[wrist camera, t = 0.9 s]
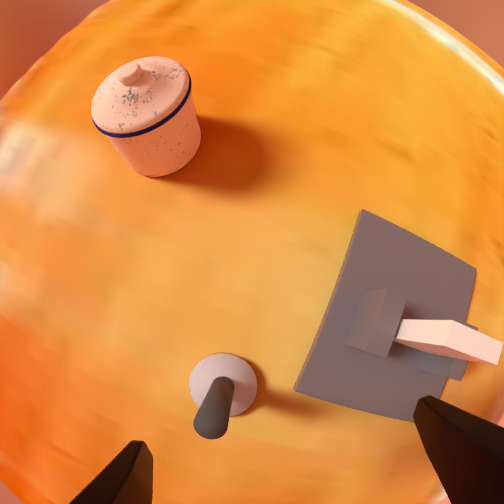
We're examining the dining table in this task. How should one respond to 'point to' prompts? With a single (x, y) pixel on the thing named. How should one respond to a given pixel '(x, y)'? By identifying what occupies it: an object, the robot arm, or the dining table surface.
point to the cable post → (221, 392)
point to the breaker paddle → (448, 340)
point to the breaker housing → (386, 322)
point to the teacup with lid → (149, 115)
